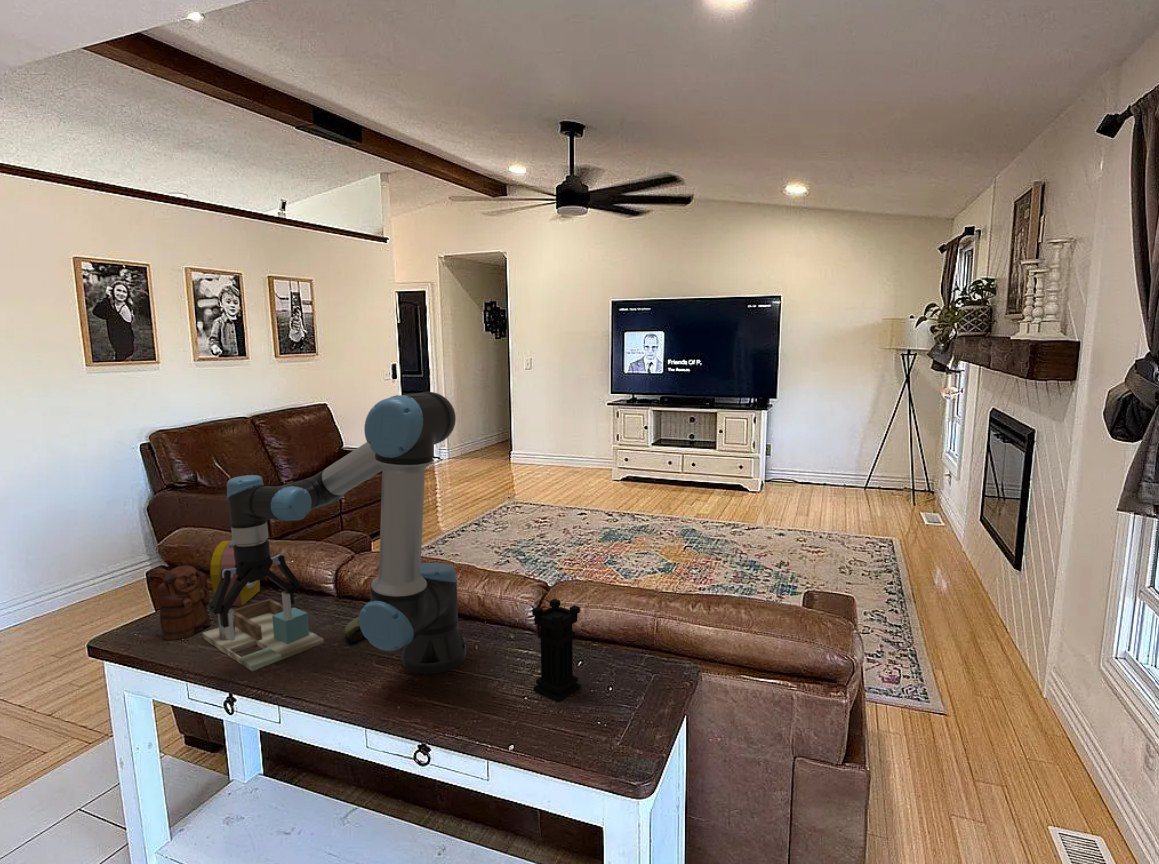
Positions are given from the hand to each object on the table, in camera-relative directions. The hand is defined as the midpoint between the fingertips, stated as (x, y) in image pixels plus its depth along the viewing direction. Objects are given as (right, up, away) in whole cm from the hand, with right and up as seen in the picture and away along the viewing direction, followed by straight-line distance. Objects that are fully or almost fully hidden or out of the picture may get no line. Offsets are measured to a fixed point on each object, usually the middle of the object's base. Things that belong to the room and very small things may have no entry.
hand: (260, 628), depth 156 cm
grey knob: (-14, -6, +11) cm, 19 cm away
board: (-5, -7, +12) cm, 15 cm away
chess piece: (+71, -11, -14) cm, 73 cm away
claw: (+18, -7, +22) cm, 29 cm away
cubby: (-8, -5, +19) cm, 21 cm away
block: (+2, -6, +12) cm, 13 cm away
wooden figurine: (-28, -7, +18) cm, 34 cm away
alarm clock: (-26, -3, +41) cm, 48 cm away
